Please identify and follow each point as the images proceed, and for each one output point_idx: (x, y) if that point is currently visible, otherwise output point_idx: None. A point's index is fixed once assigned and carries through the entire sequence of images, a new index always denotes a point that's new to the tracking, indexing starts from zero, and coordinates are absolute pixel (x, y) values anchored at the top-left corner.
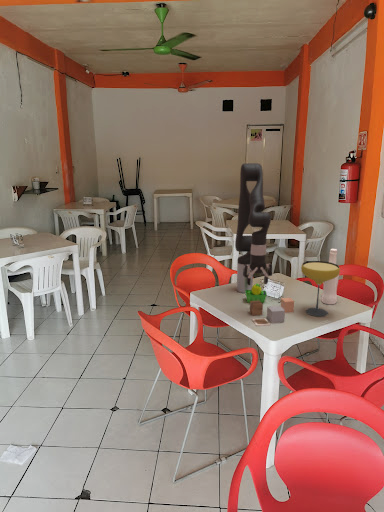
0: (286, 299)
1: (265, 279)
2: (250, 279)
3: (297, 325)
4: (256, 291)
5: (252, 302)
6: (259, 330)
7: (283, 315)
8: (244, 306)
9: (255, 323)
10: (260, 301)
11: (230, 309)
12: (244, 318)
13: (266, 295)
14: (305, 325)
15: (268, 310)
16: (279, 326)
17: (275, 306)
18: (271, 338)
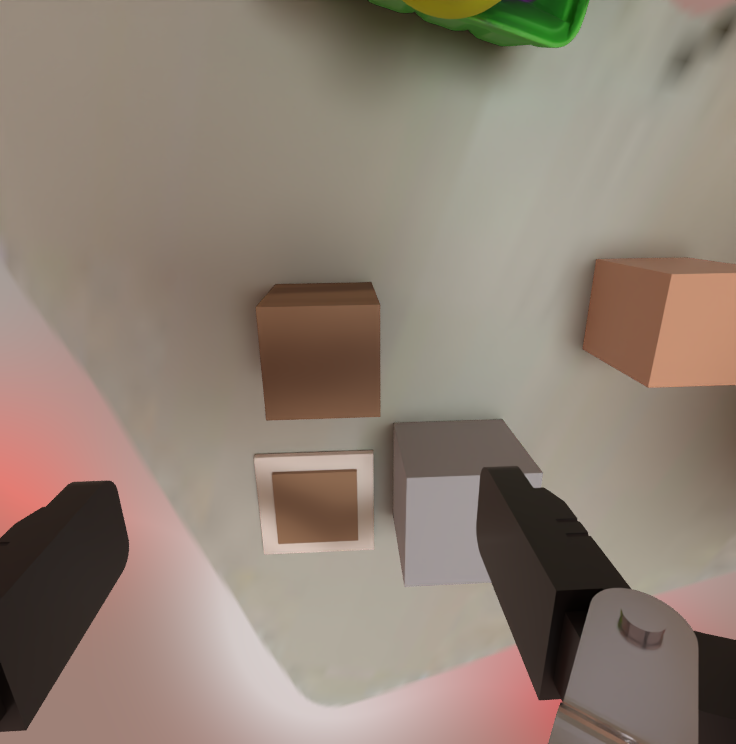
0: (710, 321)
1: (515, 623)
2: (47, 691)
3: None
4: (429, 7)
5: (274, 354)
6: (270, 605)
7: None
8: (250, 121)
9: (264, 527)
10: (471, 31)
11: (78, 186)
12: (197, 417)
13: (570, 39)
14: None
15: (402, 494)
16: None
17: None
18: (315, 691)
